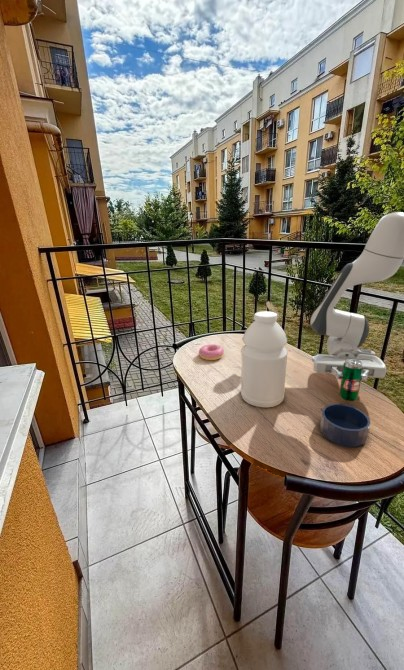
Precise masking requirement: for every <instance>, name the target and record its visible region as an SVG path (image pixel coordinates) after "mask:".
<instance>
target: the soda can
mask: <svg viewBox="0 0 404 670" xmlns="http://www.w3.org/2000/svg"><path fill="white" fill-rule="evenodd" d="M362 371H363V365H362V362H361V361H359V360H356V359H347V360H346V361H345V363H344V364H343V371H342V373H343V379H340V386H339V393H338V394H339V397H340V398H341V399H342V400H344V401H347V402H355V401H357V400H358V399H359V393H360V388H361V382H362V381H361V377H362Z"/></svg>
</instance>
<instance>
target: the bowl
mask: <svg viewBox="0 0 404 670" xmlns="http://www.w3.org/2000/svg"><path fill="white" fill-rule="evenodd" d="M370 427H371V419H370V418H369V416H368V414H366V413H365V412H364V411H363V410H361V409H359V408H357V407H355V406H352V405H349V404H344V403H331V404H327V405H325V406H324V407H323V408H322V409H321V414H320V423H319V430H320V432H321V434H322V436H324V438H326V439H327V440H328V441H330V442H332V443H334V444H336V445H338V446H341V447H345V448H346V447H347V448H358V447H361V446H363V445H364V444H366V443H367V441H368V437H369V432H370Z"/></svg>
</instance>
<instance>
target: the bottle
mask: <svg viewBox="0 0 404 670" xmlns="http://www.w3.org/2000/svg"><path fill="white" fill-rule="evenodd" d="M253 320H254V321H253V322H251V324H250V325H249V326H248V327H247V328H246V330H245V332H244V333H243V335H242V338H241V339H242V342H243V344H244V345H243V346H242V348H241V349H240V356H241V357H240V359H241V361H240V363H241V365H240V395H241V398H242V399H243V400H244V401H245V402H246V403H247V404H249V405H251V406H253V407H257V408H273V407H276V406H278V405H280V404H281V403H282V402H283V401H284V399H285V393H286V391H285V390H286V389H285V388H286V387H285V386H286V376H287V375H286V374H287V361H288V355H289V354H288V350H287V348H286V347H285V346H286V345H287V344H288V338H287V335H286V332H285V331H284V329H283V327H282V326H281V325H280V324H279V323H278V322H277V321H278V318H277V314H276V313H274V312H270V311H269V310H260V311H257V312H254V314H253Z"/></svg>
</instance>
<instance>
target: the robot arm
mask: <svg viewBox="0 0 404 670" xmlns="http://www.w3.org/2000/svg"><path fill="white" fill-rule="evenodd" d="M403 262H404V212H403V211H402V212H401V211H395V212H389V213H387V214H385V215H384V216H382V217H381V218H380V219H379V221H378V223H377V224H376V225H375V227H374V229H373V231H372V232H371V234H370V236H369V237H368V240H367V241H366V244H365V246H364V248H363V251H362V252H361V254H360V255H359V256H358V257H357V258H356V259H355V260H354V261H352V262H350V263H347V264H345V265H344V267H343V268H342V269H341V270H340V272H339V273H338V274H337V277H335V279H334V281H333V283H332V284H331V286H330V287H329V289H328V290H327V292H326V293H325V295H324V297H323V299H322V300H321V302H320V304H319V305H318V306H317V308H315V310H314V311H313V313H312V315H311V317H310V322H309V326H310V328H311V330H312V331H313V332H314V333H315V334H316V335H322V336H328V338H327V341H326V350H327V354H324V353H318V354H316V355H313V356H311V361H312V362H313V371H314V372H315V373H318V374H330V375H333V376H335V377H336V379H337V380H341V379H343V373H342V371H343V364H344V363H345V361H346V360H347V359H356V360H359V361H361V362H362V365H363V371H362V377H361V382H367V381H368V378H374V379H375V378H376V379H383V378H385V377H386V374H387V366H386V364H385V362H384V361H383V360H382V359H381V358H380V357H379V356H376V352H375V351H373V350H369V349H365V348H360V347H361V346H362V345H363V344H364V343H365V342H366V339H367V338H368V336H369V332H370V324H369V321H368V319H367V317H366V316H365V315H363V314H359V313H355V312H352V311H351V312H350V311H346V310H341V309H338V308H335V307H336V306H337V304H338V303H339V301H340V299H341V298H342V296H343V295H344V294H345V292H346V291H347V290H348V289H349V288H352V287H353V286H357V285H358V286H359V285H363V284H373V283H379V282H382V281H385V280H387V279H389V278H391V277H393V276H394V275H395V274H396V273H397V271H399V269H400V267H401V266H402V264H403Z"/></svg>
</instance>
